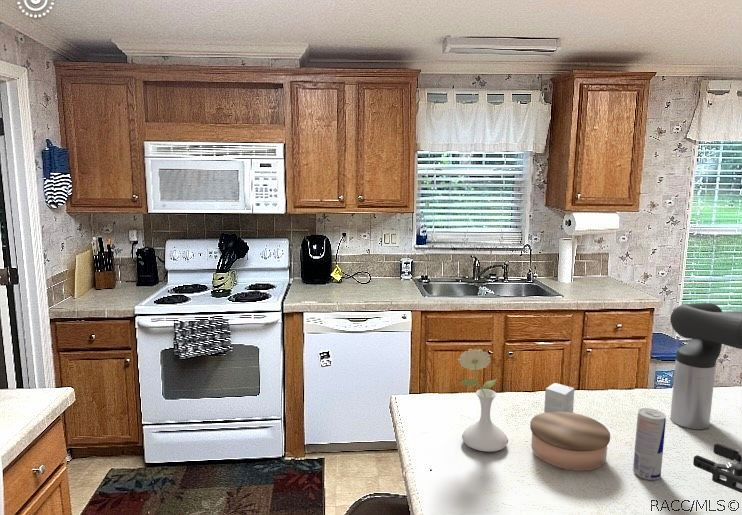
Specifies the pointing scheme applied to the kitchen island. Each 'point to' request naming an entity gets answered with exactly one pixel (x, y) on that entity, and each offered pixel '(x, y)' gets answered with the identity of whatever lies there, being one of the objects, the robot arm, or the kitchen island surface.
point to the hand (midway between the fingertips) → (704, 453)
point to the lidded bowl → (569, 440)
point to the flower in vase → (482, 407)
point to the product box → (559, 398)
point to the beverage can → (649, 443)
